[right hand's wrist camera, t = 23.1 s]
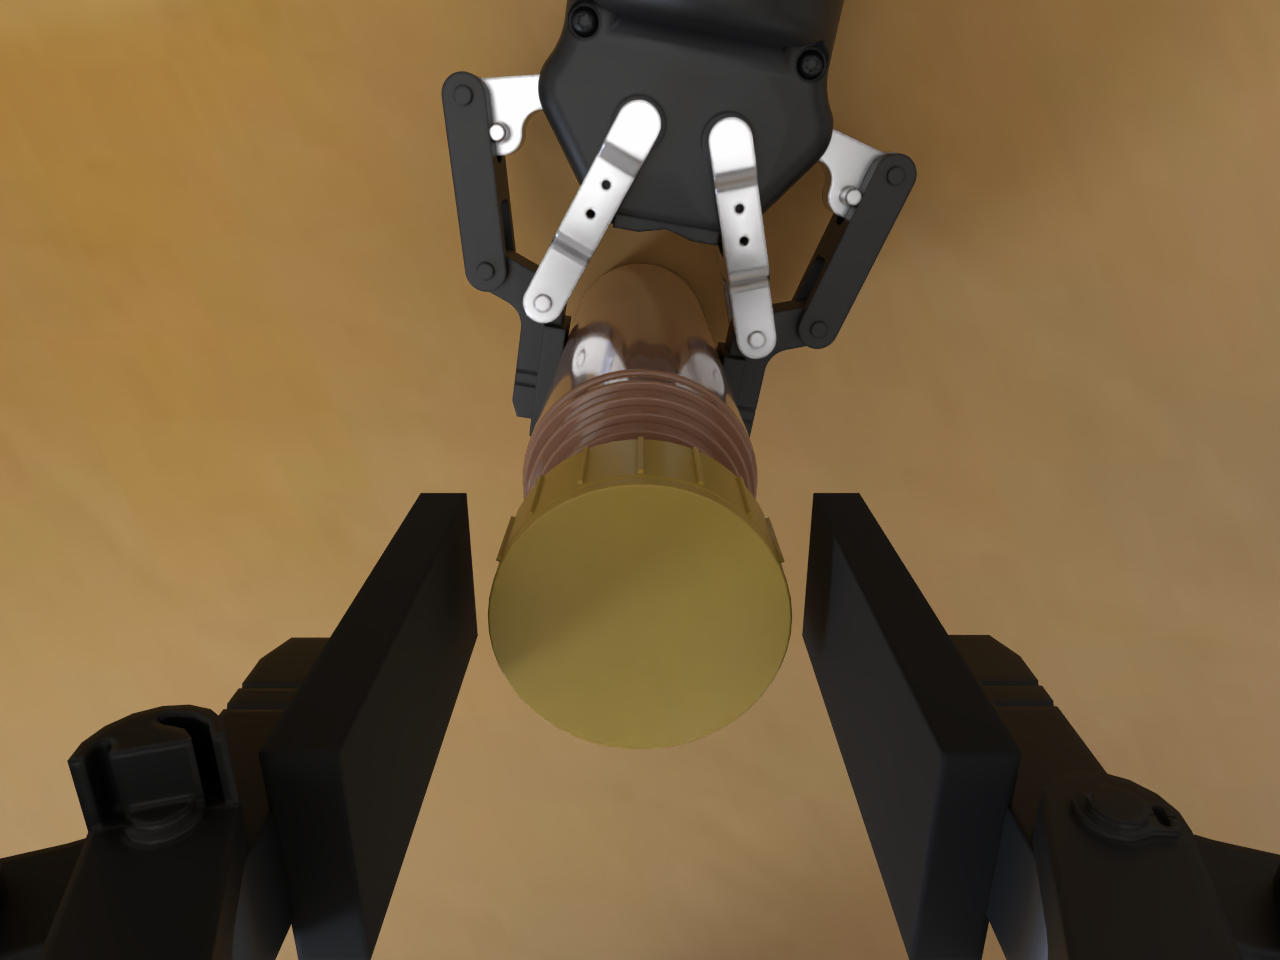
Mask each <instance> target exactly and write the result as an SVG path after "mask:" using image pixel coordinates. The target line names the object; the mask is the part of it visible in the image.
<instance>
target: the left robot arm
mask: <svg viewBox="0 0 1280 960" xmlns="http://www.w3.org/2000/svg"><path fill="white" fill-rule="evenodd" d="M843 1H844V0H567V7H566V15H565V22H564V26H563V30H562V33H561V36H560V38H559V41H558V43H557V45H556V47H555V49H554V50H553V52H552V53H551V55H550V56H549V57H548V59H547V60H546V62H545V63H544V65H543V67H542V69H541V72H540V74H536V75H522V76H508V77H494V78H480V77H478V76H476V75H473V74H471V73H468V72H463V71H462V72H456V73H453V74H451V75H450V76H449V77H448V78H447V79H446V80H445V82H444V84H443V87H442V102H443V109H444V117H445V124H446V132H447V139H448V146H449V154H450V161H451V169H452V176H453V184H454V191H455V198H456V206H457V213H458V221H459V228H460V235H461V243H462V250H463V258H464V265H465V273H466V277H467V279H468V281H469V282H470V284H471V285H472V286H473V287H474V288H476V289H478V290H480V291H484V292H491V293H493V294H494V295H496V296H498V297H500V298H502V299H503V300H505V301H507V302H508V303H510V304H511V305H512V306H513V307H514V308H515V309H516V310H517V312H518V314H519V316H520V319H521V334H520V343H519V351H518V359H517V367H516V375H515V384H514V392H513V404H514V408H515V411H516V415H517V416H519V417H525V418H531V426H530V436H532V433H533V430H534V428H535V425H536V422H537V420H538V417H539V414H540V412H541V409H542V406H543V403H544V401H545V398H546V395H547V393H548V390H549V387H550V385H551V382H552V379H553V377H554V374H555V371H556V369H557V366H558V363H559V360H560V358H561V355H562V352H563V350H564V347H565V344H566V342H567V339H568V335H569V328H570V321H571V316H566V315H565V312H566V305H567V301H568V299H569V297H570V295H571V293H572V291H573V290H574V288H575V286H576V284H577V282H578V280H579V279H580V277H581V275H582V273H583V271H584V270H585V268H586V266H587V264H588V262H589V261H590V259H591V257H592V255H593V253H594V252H595V250H596V248H597V246H598V244H599V242H600V241H601V239H602V237H603V235H604V233H605V231H606V230H607V228H608V226H609V224H610V223H612V224H613V227H615V228H620V229H626V230H632V231H637V232H641V231H651V230H661V229H667V230H670V231H672V232H674V233H676V234H678V235H680V236H682V237H684V238H686V239H688V240H690V241H694V242H700V243H706V244H711V245H716V250H717V256H718V263H719V268H720V272H721V277H722V282H723V289H724V295H725V302H726V308H727V315H728V321H729V328H728V333H727V338H726V343H722V342H718V347H717V352H718V355H719V357H720V360H721V363H722V366H723V368H724V371H725V374H726V376H727V379H728V382H729V384H730V387H731V390H732V392H733V395H734V398H735V401H736V403H737V406H738V409H739V411H740V414H741V417H742V419H743V422H744V425H745V428H746V430H747V433H748V436H749V438H750V433H751V429H752V424H753V420H754V416H755V410H756V407H757V402H758V398H759V393H760V389H761V385H762V380H763V376H764V371H765V368H766V365H767V363H768V362H769V360H770V359H771V358H772V357H773V356H774V355H775V354H777V353H778V352H781V351H783V350H787V349H793V348H798V347H804V346H808V347H810V348H813V349H821V348H824V347H827V346H828V345H830V344H831V343H832V342H833V341H834V340H835V338H836V336H837V334H838V332H839V330H840V329H841V327H842V325H843V323H844V321H845V319H846V317H847V315H848V313H849V311H850V309H851V307H852V305H853V303H854V301H855V299H856V297H857V295H858V293H859V291H860V289H861V287H862V285H863V283H864V281H865V279H866V278H867V276H868V274H869V272H870V270H871V268H872V266H873V264H874V262H875V260H876V258H877V256H878V254H879V252H880V250H881V248H882V246H883V244H884V242H885V240H886V238H887V236H888V234H889V232H890V230H891V229H892V227H893V225H894V223H895V221H896V219H897V217H898V215H899V213H900V211H901V209H902V207H903V205H904V203H905V201H906V199H907V197H908V195H909V193H910V191H911V189H912V187H913V185H914V183H915V180H916V175H917V172H916V167H915V164H914V162H913V161H912V160H911V159H910V158H909V157H908V156H906V155H904V154H898V153H895V152H881V151H879V150H877V149H874V148H872V147H870V146H868V145H866V144H864V143H862V142H860V141H858V140H855V139H853V138H851V137H849V136H847V135H845V134H843V133H841V132H839V131H836V130H834V129H833V117H832V113H831V109H830V106H829V101H828V95H827V75H828V69H829V64H830V60H831V55H832V51H833V46H834V42H835V37H836V33H837V28H838V24H839V19H840V15H841V10H842V6H843ZM539 111H544V113H545V115H546V117H547V119H548V121H549V123H550V125H551V127H552V129H553V131H554V133H555V135H556V137H557V139H558V141H559V144H560V146H561V148H562V150H563V152H564V154H565V156H566V158H567V160H568V162H569V164H570V166H571V168H572V170H573V172H574V174H575V176H576V178H577V180H578V182H579V184H580V188H579V190H578V192H577V194H576V196H575V198H574V200H573V202H572V204H571V205H570V207H569V209H568V211H567V213H566V215H565V217H564V219H563V221H562V223H561V224H560V226H559V228H558V230H557V232H556V234H555V236H554V238H553V240H552V243H551V245H550V247H549V249H548V250H547V252H546V254H545V256H544V258H543V260H542V262H541V264H540V266H539V265H537V264H535V263H534V262H532V261H530V260H528V259H526V258H525V257H523V256H521V255H519V254H518V253H516V249H515V240H514V231H513V222H512V214H511V205H510V196H509V187H508V178H507V169H506V161H505V155H510V154H513V153H515V152H517V151H518V150H520V148H521V147H522V146H523V144H524V141H525V137H526V126H527V123H528V121H529V119H530V118H531V117H532V116H533V115H534V114H535V113H537V112H539ZM816 162H818V163H819V164H820V165H821V166H822V168H823V170H824V172H825V185H824V188H823V191H822V200H823V203H824V206H825V207H826V208H827V210H829V211H830V212H831V213H833V216H832V218H831V220H830V222H829V224H828V226H827V228H826V230H825V232H824V234H823V236H822V238H821V241H820V243H819V245H818V247H817V249H816V251H815V253H814V255H813V257H812V259H811V261H810V263H809V265H808V267H807V269H806V272H805V274H804V276H803V278H802V280H801V282H800V284H799V286H798V288H797V290H796V292H795V294H794V296H793V298H792V300H791V301H787V302H782V303H776V304H772V301H771V293H770V286H769V277H770V273H769V263H768V256H767V248H766V241H765V233H764V226H763V218H762V215H763V214H764V213H765V212H766V211H767V210H768V209H769V208H770V207H771V206H772V205H773V204H774V203H775V202H776V201H777V200H778V199H779V198H780V197H781V196H782V195H783V194H785V193H786V192H787V191H788V190H789V189H790V188H791V187H792V186H793V185H794V184H795V183H796V182H797V181H798V180H799V179H800V178H801V177H802V176H803V175H804V174H805V173H806V172H807V171H808V170H809V169H810V168H811V167H812V166H813V165H814V164H815V163H816Z"/></svg>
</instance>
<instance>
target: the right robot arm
mask: <svg viewBox="0 0 1280 960" xmlns="http://www.w3.org/2000/svg"><path fill="white" fill-rule="evenodd" d="M477 636H478V634H477V621H476V608H475V596H474V583H473V570H472V557H471V545H470V532H469V519H468V506H467V494H466V493H421V494H420V495H419V497H418V498H417V500H416V502H415V503H414V505H413V506H412V508H411V510H410V511H409V513H408V514H407V516H406V518H405V519H404V521H403V522H402V524H401V526H400V527H399V529H398V530H397V532H396V534H395V535H394V537H393V538H392V540H391V541H390V543H389V545H388V546H387V548H386V549H385V551H384V553H383V554H382V556H381V557H380V559H379V561H378V562H377V564H376V565H375V567H374V569H373V570H372V572H371V573H370V575H369V577H368V578H367V580H366V581H365V583H364V585H363V586H362V588H361V589H360V591H359V592H358V594H357V596H356V597H355V599H354V600H353V602H352V604H351V605H350V607H349V608H348V610H347V612H346V613H345V615H344V616H343V618H342V620H341V621H340V623H339V624H338V626H337V628H336V629H335V631H334V632H333V634H332V635H331V637H330V638H290V639H289V640H287V641H286V642H284V643H283V644H282V645H280V646H279V647H277V648H276V649H274V650H273V651H271V652H270V653H268V654H267V655H265V656H264V657H263V658H261V659H260V660H259V662H258V663H257V664H256V666H255V667H254V668H253V670H252V671H251V673H250V674H249V675H248V677H247V678H246V679H245V681H244V682H243V683H242V688H239V689H238V690H237V692H236V693H235V694H234V696H233V697H232V698H231V700H230V701H229V702H228V704H227V709H223V711H222V712H221V713H220V715H219V716H218V715H217V714H216V713H215V712H213V711H212V710H211V709H207V708H203V707H198V706H193V705H174V706H161V707H157V708H153V709H149V710H145V711H141V712H137V713H133V714H131V715H129V716H127V717H124V718H122V719H120V720H118V721H115V722H113V723H111V724H109V725H107V726H105V727H103V728H102V729H100V730H99V731H98V732H96V733H95V734H93V735H92V736H90V737H89V738H88V739H86V740H85V741H83V742H82V743H81V744H80V746H79V747H78V748H77V749H76V751H75V752H74V753H73V755H72V756H71V757H70V758H69V760H68V765H69V768H70V771H71V775H72V778H73V781H74V785H75V788H76V792H77V795H78V798H79V802H80V805H81V809H82V812H83V815H84V819H85V822H86V826H87V829H88V834H87V837H86V838H85V839H81V840H78V841H75V842H71V843H68V844H63V845H59V846H54V847H50V848H45V849H41V850H37V851H32V852H28V853H23V854H19V855H14V856H10V857H5V858H1V859H0V960H275V959H276V957H277V955H278V952H279V950H280V948H281V946H282V943H283V941H284V939H285V937H286V935H287V932H288V930H289V928H290V926H291V924H292V929H293V934H294V939H295V944H296V949H297V954H298V959H299V960H371V957H372V954H373V951H374V948H375V945H376V942H377V939H378V936H379V933H380V930H381V927H382V924H383V921H384V918H385V914H386V911H387V908H388V905H389V902H390V899H391V896H392V893H393V890H394V887H395V884H396V881H397V878H398V875H399V872H400V869H401V866H402V863H403V860H404V857H405V854H406V851H407V848H408V845H409V842H410V839H411V836H412V833H413V830H414V827H415V824H416V821H417V818H418V815H419V812H420V809H421V805H422V802H423V799H424V796H425V793H426V790H427V787H428V784H429V781H430V778H431V775H432V772H433V769H434V766H435V763H436V760H437V757H438V754H439V751H440V748H441V745H442V742H443V739H444V736H445V733H446V730H447V727H448V724H449V721H450V718H451V715H452V712H453V709H454V706H455V703H456V700H457V697H458V693H459V690H460V687H461V684H462V681H463V678H464V675H465V672H466V669H467V666H468V663H469V660H470V657H471V654H472V651H473V648H474V645H475V642H476V639H477ZM802 636H803V639H804V642H805V645H806V648H807V651H808V654H809V657H810V660H811V663H812V666H813V669H814V672H815V675H816V678H817V681H818V684H819V687H820V690H821V693H822V696H823V700H824V703H825V706H826V709H827V712H828V715H829V718H830V721H831V724H832V727H833V730H834V733H835V736H836V739H837V742H838V745H839V748H840V751H841V754H842V757H843V760H844V763H845V766H846V769H847V772H848V775H849V778H850V781H851V784H852V787H853V790H854V793H855V796H856V799H857V802H858V805H859V809H860V812H861V815H862V818H863V821H864V824H865V827H866V830H867V833H868V836H869V839H870V842H871V845H872V848H873V851H874V854H875V857H876V860H877V863H878V866H879V869H880V872H881V875H882V878H883V881H884V884H885V887H886V890H887V893H888V896H889V899H890V902H891V905H892V908H893V911H894V914H895V917H896V921H897V924H898V927H899V930H900V933H901V936H902V939H903V942H904V945H905V948H906V951H907V954H908V957H909V960H982V954H983V949H984V944H985V939H986V934H987V929H988V924H989V921H990V924H991V926H992V928H993V930H994V932H995V935H996V937H997V939H998V941H999V944H1000V946H1001V948H1002V950H1003V953H1004V955H1005V957H1006V960H1280V855H1278V854H1273V853H1269V852H1264V851H1260V850H1255V849H1251V848H1246V847H1242V846H1237V845H1233V844H1228V843H1224V842H1219V841H1215V840H1211V839H1208V838H1204V837H1201V836H1197V835H1194V834H1193V833H1192V831H1191V829H1190V828H1189V826H1188V825H1187V823H1186V822H1185V820H1184V819H1183V817H1182V816H1181V814H1180V813H1179V811H1177V810H1176V809H1175V808H1174V807H1172V806H1171V805H1170V804H1169V803H1167V802H1166V801H1165V800H1164V799H1163V798H1161V797H1160V796H1159V795H1158V794H1156V793H1154V792H1152V791H1150V790H1148V789H1146V788H1144V787H1142V786H1140V785H1138V784H1136V783H1134V782H1132V781H1130V780H1127V779H1124V778H1120V777H1117V776H1113V775H1110V774H1107V773H1106V771H1105V770H1104V769H1103V767H1102V766H1101V765H1100V763H1099V762H1098V761H1097V759H1096V758H1095V757H1094V755H1093V754H1092V753H1091V751H1090V750H1089V749H1088V747H1087V746H1086V744H1085V743H1084V742H1083V740H1082V739H1081V738H1080V736H1079V735H1078V734H1077V732H1076V731H1075V730H1074V728H1073V727H1072V726H1071V724H1070V723H1069V722H1068V720H1067V719H1066V718H1065V716H1064V715H1063V713H1062V712H1061V711H1060V709H1059V708H1058V707H1057V706H1054V705H1053V700H1052V699H1051V697H1050V696H1049V695H1048V693H1047V692H1046V691H1045V689H1044V688H1043V687H1042V686H1039V685H1038V680H1037V678H1036V677H1035V676H1034V674H1033V673H1032V672H1031V670H1030V669H1029V668H1028V666H1027V665H1026V664H1025V662H1024V661H1023V660H1022V658H1021V657H1020V656H1019V655H1018V654H1016V653H1015V652H1013V651H1012V650H1010V649H1009V648H1007V647H1006V646H1004V645H1003V644H1001V643H1000V642H998V641H997V640H996V639H994V638H993V637H991V636H990V635H948V634H947V632H946V631H945V629H944V628H943V626H942V624H941V623H940V621H939V620H938V618H937V616H936V615H935V613H934V612H933V610H932V608H931V607H930V605H929V604H928V602H927V600H926V599H925V597H924V596H923V594H922V592H921V591H920V589H919V588H918V586H917V584H916V583H915V581H914V580H913V578H912V577H911V575H910V573H909V572H908V570H907V569H906V567H905V565H904V564H903V562H902V561H901V559H900V557H899V556H898V554H897V553H896V551H895V549H894V548H893V546H892V545H891V543H890V541H889V540H888V538H887V537H886V535H885V534H884V532H883V530H882V529H881V527H880V526H879V524H878V522H877V521H876V519H875V518H874V516H873V514H872V513H871V511H870V510H869V508H868V506H867V505H866V503H865V502H864V500H863V498H862V497H861V495H860V494H859V493H814V494H813V506H812V519H811V532H810V545H809V557H808V570H807V583H806V596H805V608H804V621H803V634H802Z"/></svg>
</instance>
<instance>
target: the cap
mask: <svg viewBox="0 0 1280 960" xmlns="http://www.w3.org/2000/svg"><path fill="white" fill-rule="evenodd" d="M496 561H499V565H498V568H497V572H496V574H495V577H494V580H493V584H492V589H491V593H490V597H489V608H488V624H489V634H490V639H491V643H492V648H493V651H494V654H495V656H496V659H497V662H498V664H499V667H500V668H501V670H502V672H503V674H504V676H505V678H506V679H507V681H508V683H509V684H510V685H511V687H512V688H513V689H514V691H515V692H516V693H517V695H518V696H519V697H520V698H521V699H522V700H523V701H524V702H525V703H526V704H527V705H528V706H529V707H530V708H531V709H532V710H533V711H534V712H536V713H537V714H538V715H539V716H541V717H542V718H543V719H544V720H546V721H547V722H549V723H551V724H552V725H554V726H555V727H557V728H559V729H560V730H563V731H565V732H567V733H569V734H571V735H573V736H575V737H578V738H581V739H584V740H587V741H590V742H592V743H596V744H601V745H605V746H610V747H617V748H626V749H654V748H663V747H670V746H675V745H679V744H684V743H687V742H690V741H693V740H696V739H699V738H702V737H705V736H707V735H709V734H711V733H713V732H715V731H718V730H720V729H721V728H723V727H725V726H726V725H728V724H729V723H731V722H733V721H734V720H736V719H737V718H738V717H739V716H741V715H742V714H743V713H744V712H746V711H747V710H748V709H749V708H750V707H751V706H752V705H753V704H754V703H755V702H756V701H757V700H758V699H759V698H760V697H761V696H762V695H763V693H764V692H765V691H766V689H767V688H768V687H769V685H770V684H771V683H772V681H773V679H774V677H775V676H776V674H777V672H778V670H779V669H780V667H781V664H782V662H783V659H784V656H785V654H786V651H787V647H788V643H789V639H790V634H791V623H792V609H791V598H790V593H789V589H788V584H787V581H786V578H785V575H784V572H783V569H782V566H781V563H782V562H784V559H783V556H782V553H781V550H780V547H779V544H778V542H777V539H776V536H775V533H774V530H773V527H772V524H771V521H770V519H769V517H768V518H766V519H765V517H764V514H763V512H762V510H761V508H760V506H759V504H758V503H757V501H756V499H755V497H754V496H753V495H752V494H751V492H750V491H749V490H748V488H747V487H746V486H745V483H744V480H743V478H742V477H741V476H738V477H736V476H735V475H734V474H733V473H732V472H731V471H730V470H728V469H727V468H726V467H724V466H723V465H722V464H720V463H719V462H718V461H716V460H714V459H712V458H710V457H709V456H707V455H705V454H703V453H701V452H699V450H698V448H696V447H693V449H691V448H689V447H686V446H682V445H678V444H675V443H671V442H666V441H658V440H650V439H643V437H638V439H630V440H622V441H614V442H609V443H605V444H601V445H597V446H594V447H592V448H588V446H586V447H584V448H583V451H581V452H579V453H577V454H575V455H573V456H571V457H570V458H568V459H566V460H564V461H562V462H561V463H560V464H558V465H557V466H556V467H554V468H553V469H552V470H550V471H549V472H548V473H547V474H546V475H545V476H543V475H540V476H539V477H538V479H537V482H536V485H535V486H534V487H533V488H532V490H531V491H530V492H529V494H528V495H527V496H526V498H525V499H524V501H523V503H522V504H521V506H520V508H519V510H518V512H517V514H516V517H513V516H511V519H510V521H509V524H508V527H507V530H506V533H505V536H504V539H503V542H502V544H501V547H500V550H499V553H498V556H497V559H496Z"/></svg>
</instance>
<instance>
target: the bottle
mask: <svg viewBox="0 0 1280 960" xmlns="http://www.w3.org/2000/svg"><path fill="white" fill-rule="evenodd" d="M638 437H643V439H650V440H658V441H666V442H671V443H675V444H678V445H682V446H686V447H689V448H691V449H693V447H696V448H698V450H699V452H701V453H703V454H705V455H707V456H709V457H710V458H712V459H714V460H716V461H718V462H719V463H720V464H722V465H723V466H724V467H726V468H727V469H728V470H730V471H731V472H732V473H733V474H734V475H735V476H736V477H738V476H741V477H742V478H743V480H744V483H745V486H746V487H747V488H748V490H749V491H750V492H751V494H752V495H753V496H754V497H755V499H756V494H757V465H756V459H755V454H754V451H753V447H752V444H751V441H750V438H749V436H748V433H747V430H746V428H745V425H744V422H743V419H742V417H741V414H740V411H739V409H738V406H737V403H736V401H735V398H734V395H733V392H732V390H731V387H730V384H729V382H728V379H727V376H726V374H725V371H724V368H723V366H722V363H721V360H720V357H719V355H718V352H717V349H716V347H715V344H714V341H713V339H712V336H711V333H710V331H709V328H708V325H707V322H706V320H705V317H704V314H703V312H702V309H701V306H700V304H699V301H698V299H697V297H696V295H695V294H694V292H693V291H692V289H691V288H690V287H689V286H688V284H687V283H686V282H685V281H684V280H682V279H681V278H680V277H679V276H677V275H676V274H675V273H673V272H671V271H669V270H667V269H665V268H663V267H660V266H657V265H652V264H643V263H637V264H628V265H624V266H621V267H618V268H615V269H613V270H611V271H609V272H607V273H606V274H604V275H603V276H601V277H600V278H599V279H598V280H597V281H596V282H594V283H593V285H592V286H591V287H590V288H589V289H588V291H587V293H586V294H585V296H584V298H583V300H582V302H581V304H580V307H579V309H578V312H577V315H576V317H575V320H574V323H573V325H572V328H571V331H570V334H569V336H568V339H567V342H566V344H565V347H564V350H563V352H562V355H561V358H560V360H559V363H558V366H557V369H556V371H555V374H554V377H553V379H552V382H551V385H550V387H549V390H548V393H547V395H546V398H545V401H544V403H543V406H542V409H541V412H540V414H539V417H538V420H537V422H536V425H535V428H534V430H533V433H532V436H531V438H530V441H529V444H528V448H527V451H526V454H525V460H524V466H523V495H524V499H525V498H526V496H527V495H528V494H529V492H530V491H531V490H532V488H533V487H534V486H535V485H536V482H537V479H538V477H539V476H540V475H543V476H545V475H546V474H547V473H548V472H549V471H550V470H552V469H553V468H554V467H556V466H557V465H558V464H560V463H561V462H562V461H564V460H566V459H568V458H570V457H571V456H573V455H575V454H577V453H579V452H581V451H583V448H584V447H586V446H588V448H592V447H594V446H597V445H601V444H605V443H609V442H614V441H622V440H630V439H638Z"/></svg>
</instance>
